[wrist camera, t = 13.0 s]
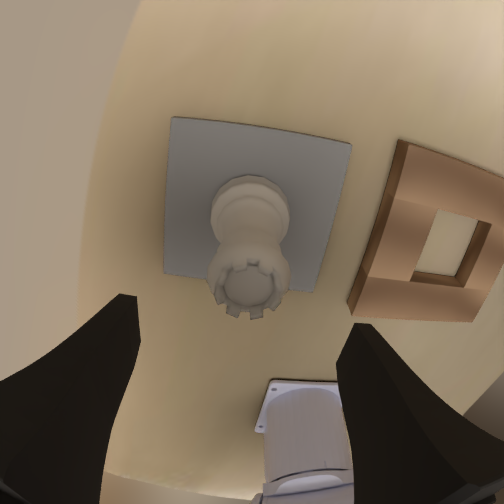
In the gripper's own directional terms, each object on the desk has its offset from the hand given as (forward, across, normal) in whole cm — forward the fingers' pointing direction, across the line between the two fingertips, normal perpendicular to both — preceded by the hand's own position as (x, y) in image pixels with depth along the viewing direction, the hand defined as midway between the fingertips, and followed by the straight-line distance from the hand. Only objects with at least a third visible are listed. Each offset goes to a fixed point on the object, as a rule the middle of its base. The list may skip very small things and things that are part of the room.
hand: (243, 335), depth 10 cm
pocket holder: (+10, -14, 0) cm, 18 cm away
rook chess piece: (+10, 0, 0) cm, 10 cm away
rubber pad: (+10, 0, 0) cm, 10 cm away
